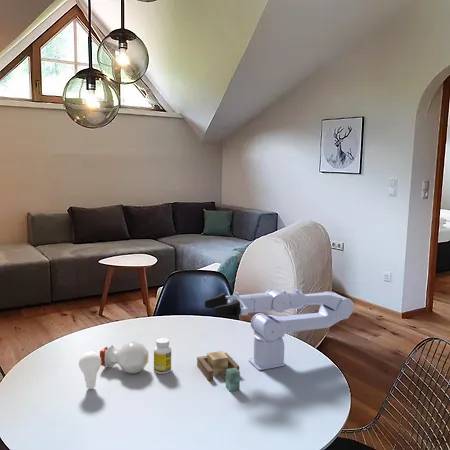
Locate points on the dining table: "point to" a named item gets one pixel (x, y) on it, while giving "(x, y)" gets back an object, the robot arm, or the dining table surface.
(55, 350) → the dining table surface
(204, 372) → the wooden u-shaped bracket
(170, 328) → the dining table surface
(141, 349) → the potion bottle
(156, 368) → the supplement bottle
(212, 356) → the wooden blocks on rod
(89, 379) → the lightbulb
